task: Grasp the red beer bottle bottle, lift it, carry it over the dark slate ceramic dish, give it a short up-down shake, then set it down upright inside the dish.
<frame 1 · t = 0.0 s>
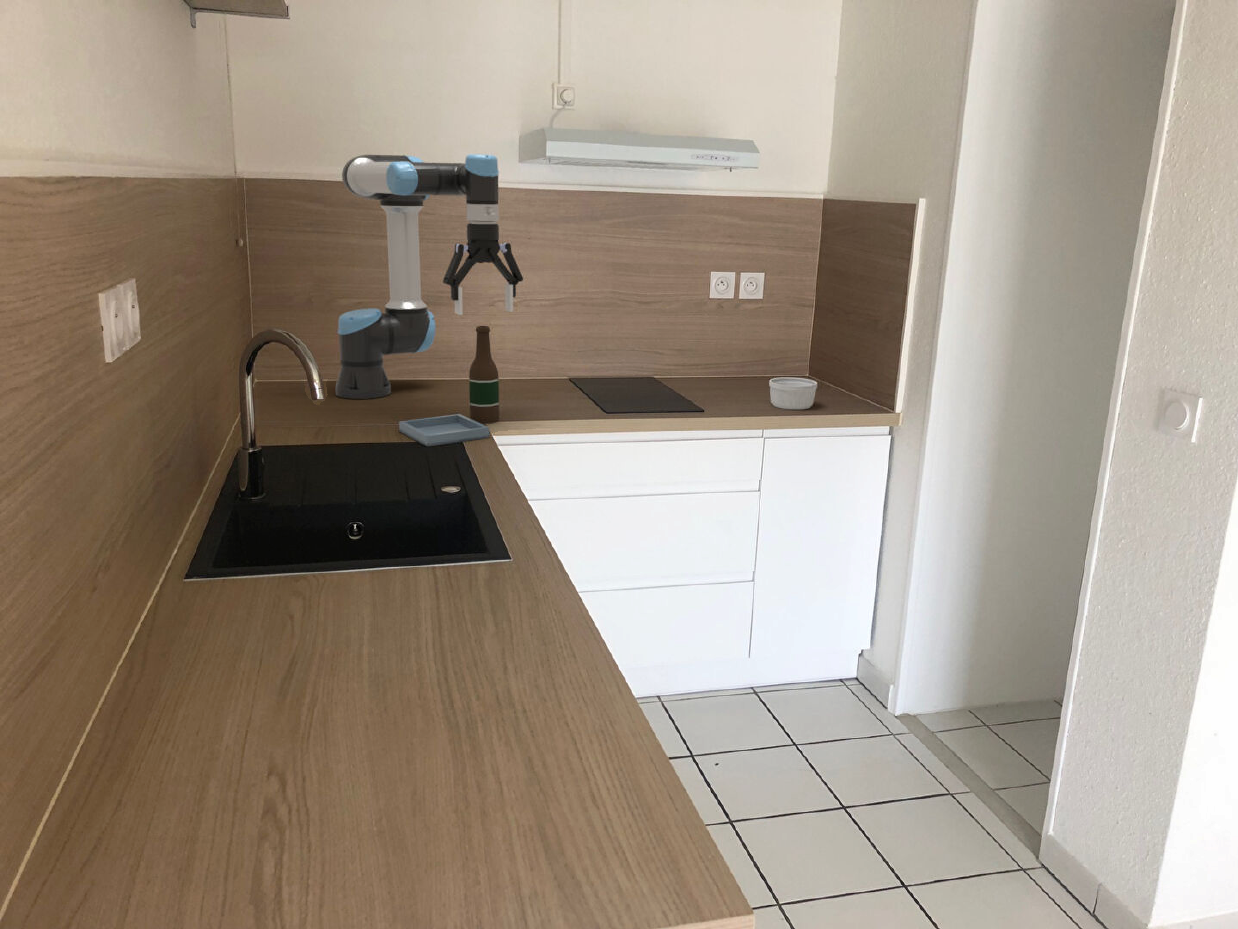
hand: (484, 312, 237), 28 cm above the counter, fingers open, 13 cm apart
dish: (444, 434, 235), on the counter
ramekin: (791, 406, 274), on the counter
beer bottle: (484, 421, 250), on the counter
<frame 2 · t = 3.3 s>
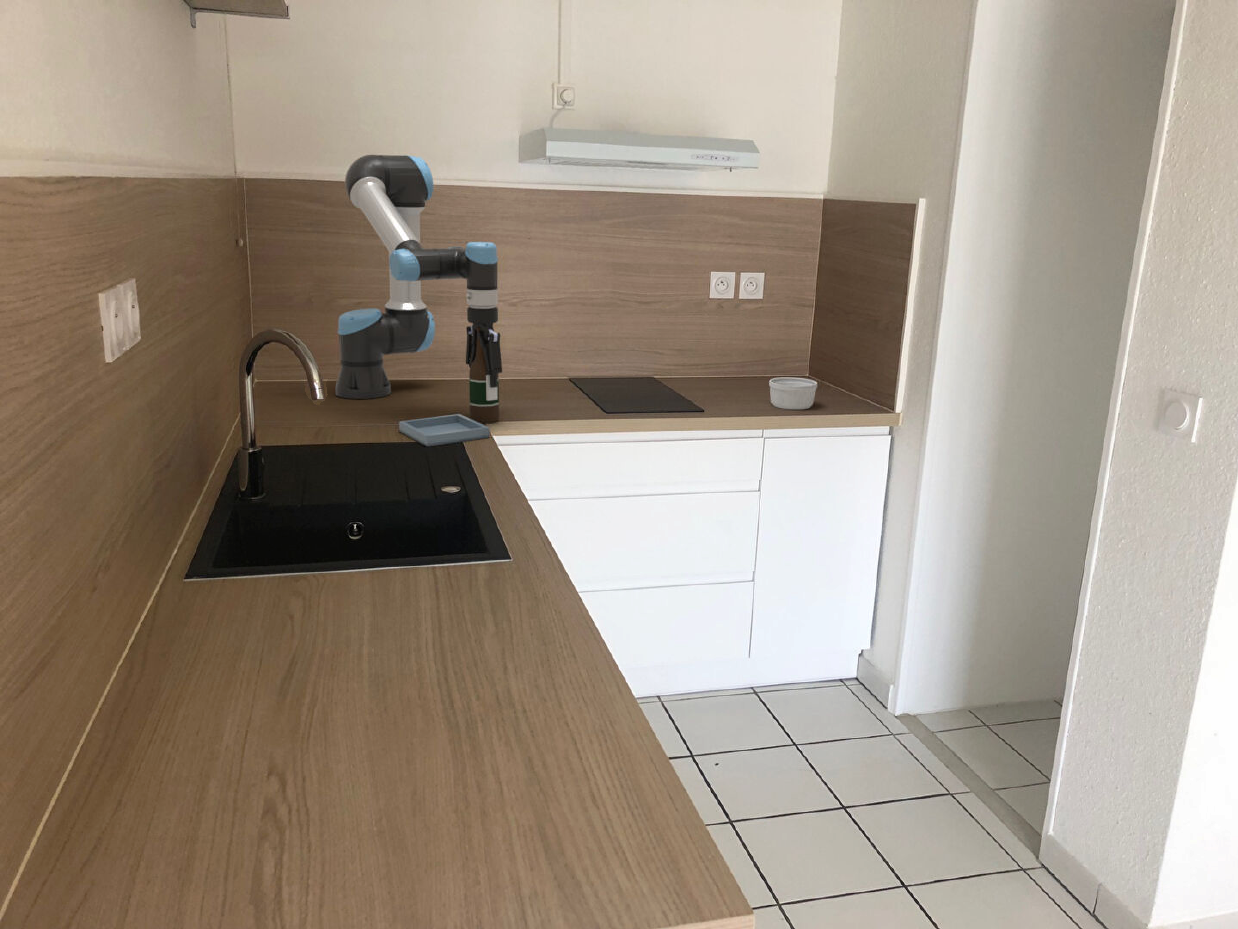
hand: (484, 396, 248), 6 cm above the counter, fingers closed on beer bottle, 8 cm apart
beer bottle: (484, 421, 250), on the counter, touching gripper
everything else where it was.
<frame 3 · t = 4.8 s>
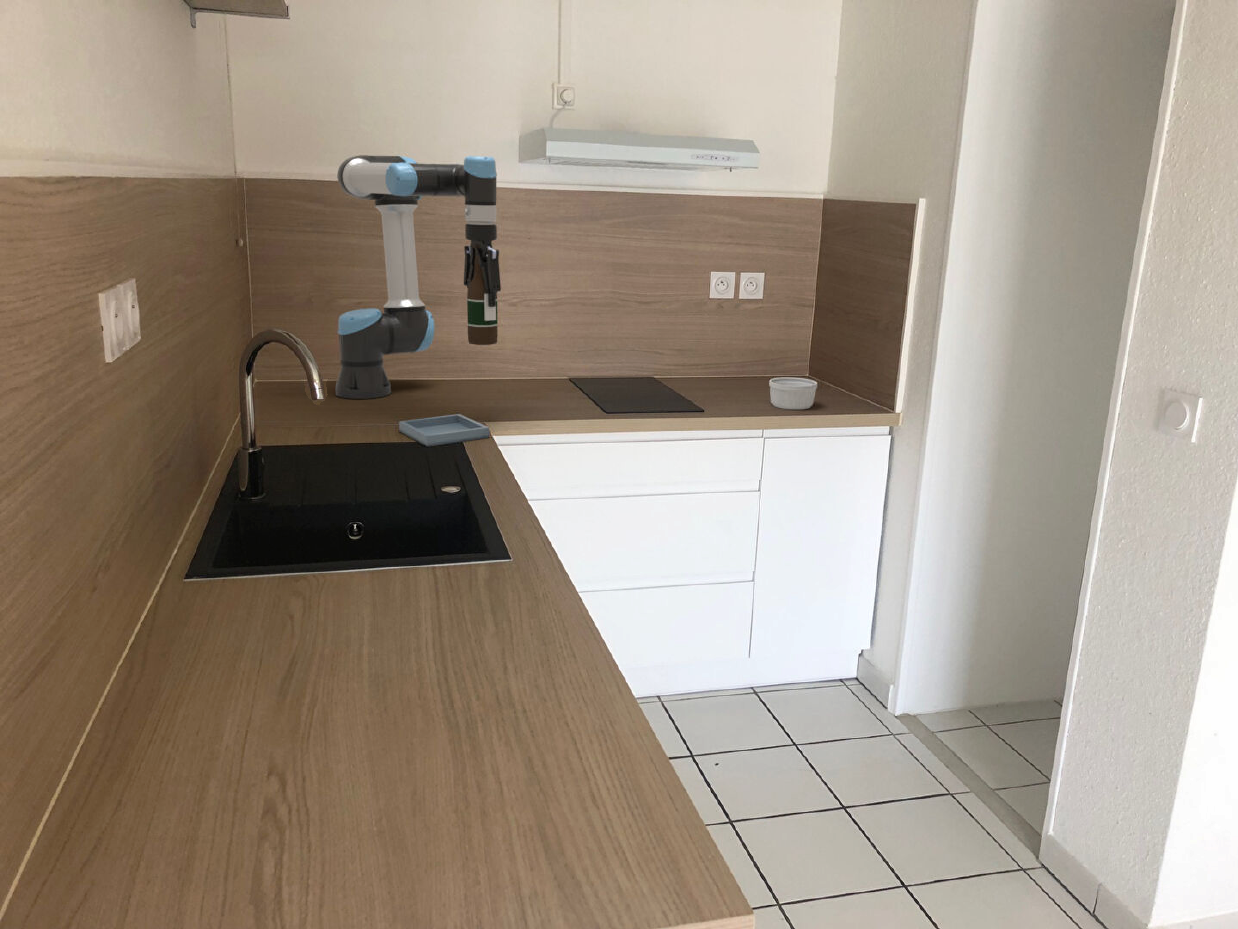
hand: (482, 317, 242), 26 cm above the counter, fingers closed on beer bottle, 8 cm apart
beer bottle: (482, 343, 244), point 20 cm above the counter, touching gripper
everything else where it was.
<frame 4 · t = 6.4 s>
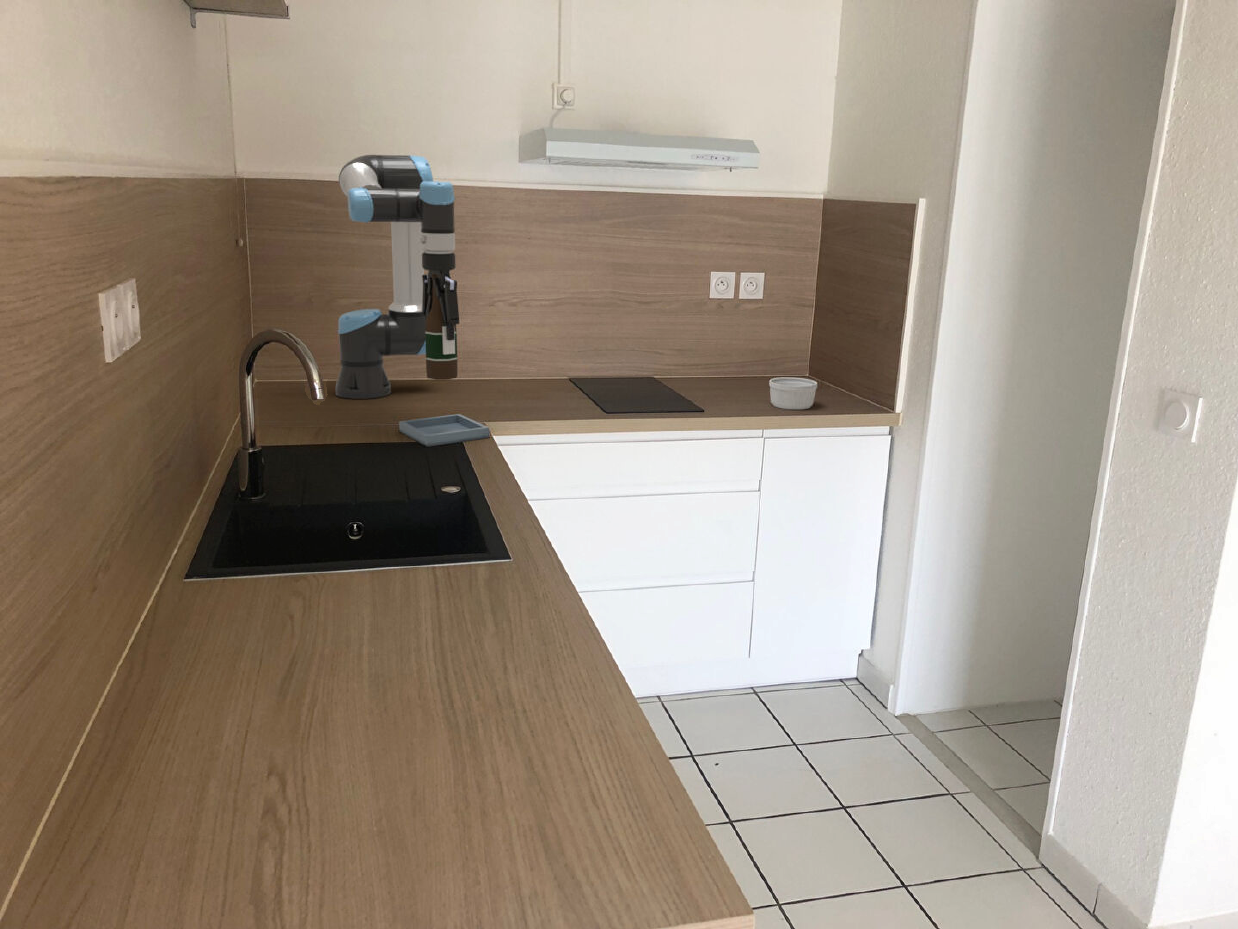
hand: (441, 350, 230), 20 cm above the counter, fingers closed on beer bottle, 8 cm apart
beer bottle: (442, 377, 231), point 14 cm above the counter, touching gripper
everything else where it was.
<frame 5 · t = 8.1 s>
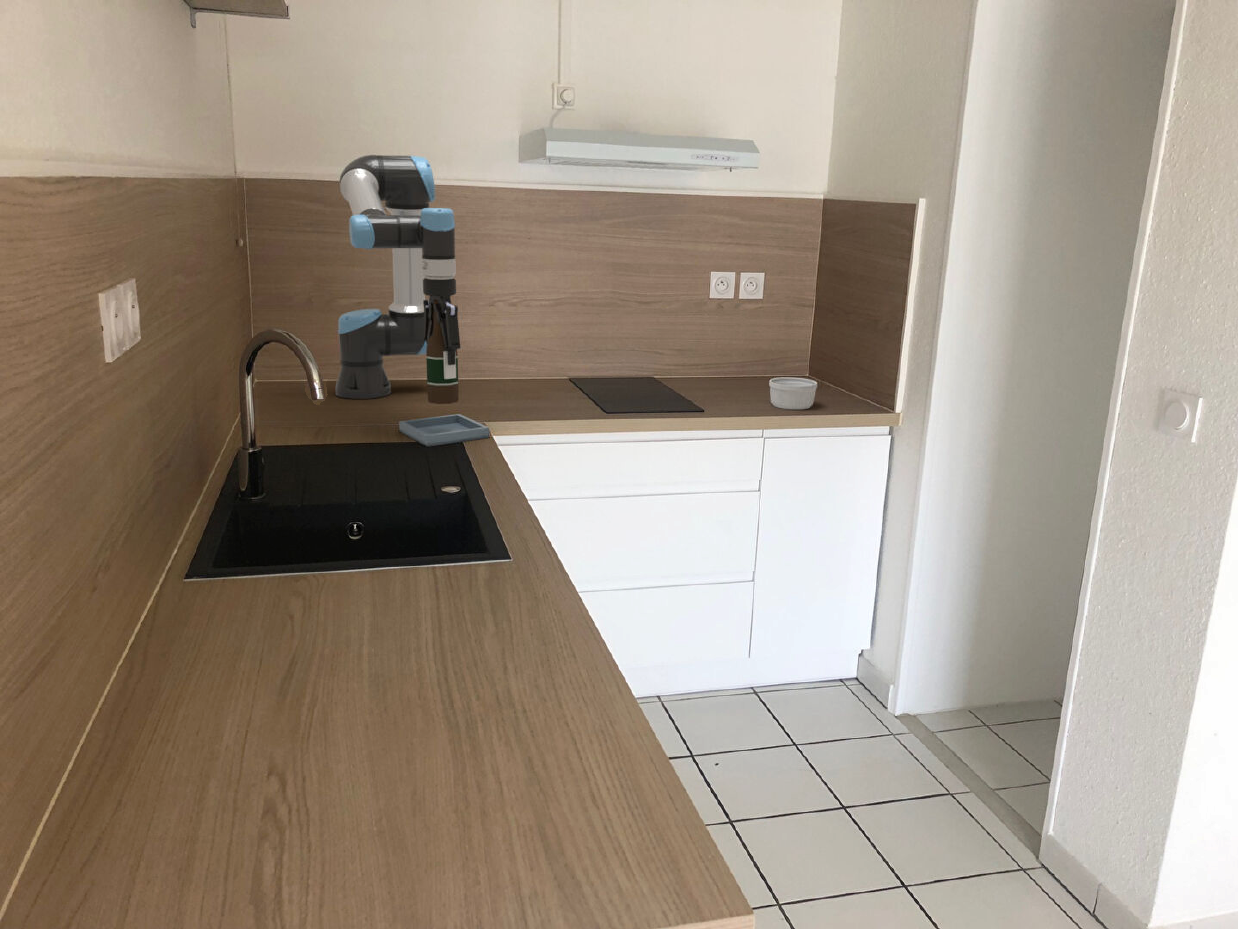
hand: (442, 375, 231), 15 cm above the counter, fingers closed on beer bottle, 8 cm apart
beer bottle: (443, 401, 233), point 8 cm above the counter, touching gripper
everything else where it was.
when the fingers open (8 cm above the counter, at t = 9.6 s): beer bottle drops 1 cm, resting on dish.
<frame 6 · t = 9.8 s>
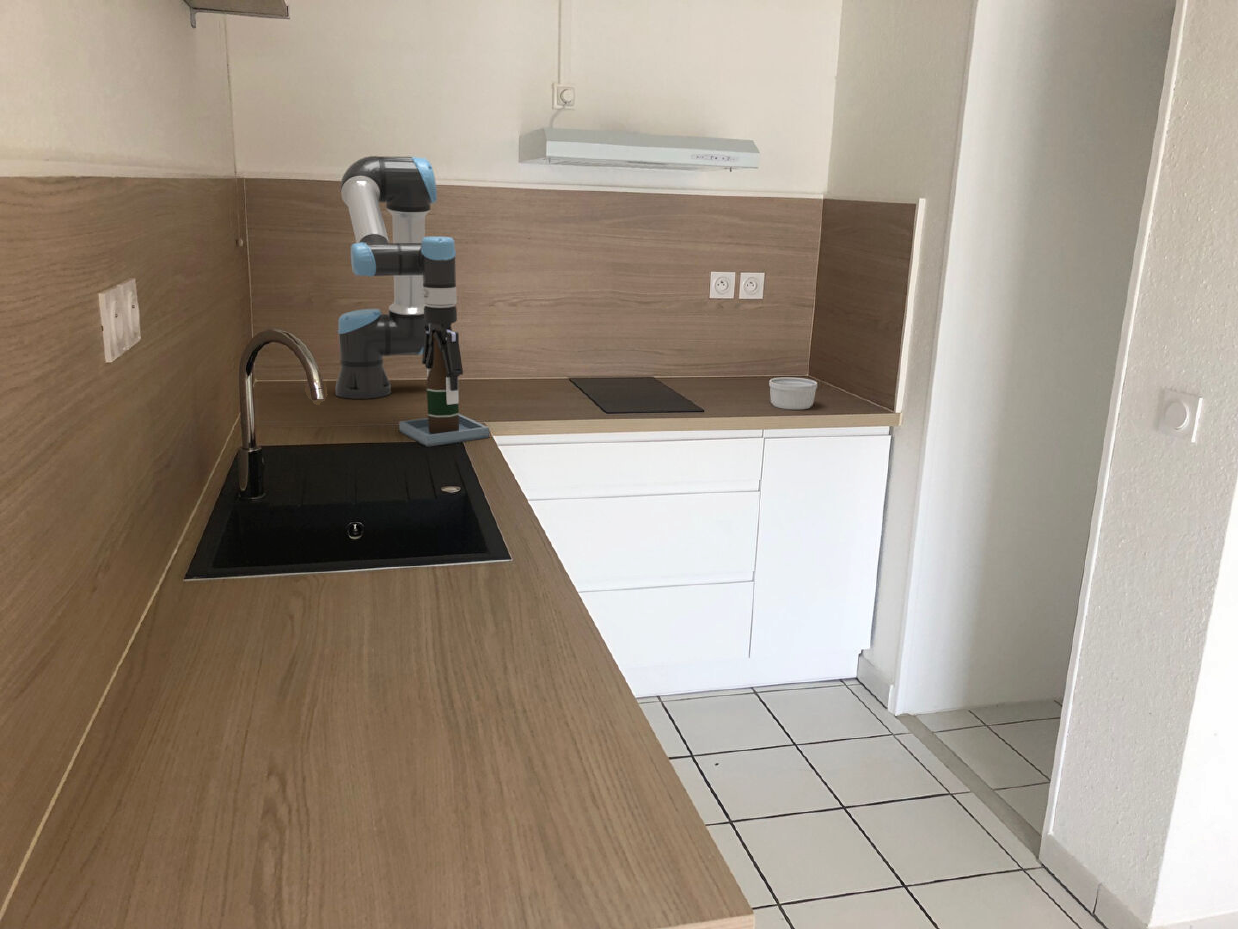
hand: (443, 399, 232), 9 cm above the counter, fingers open, 10 cm apart
beer bottle: (444, 432, 235), resting on dish
everything else where it was.
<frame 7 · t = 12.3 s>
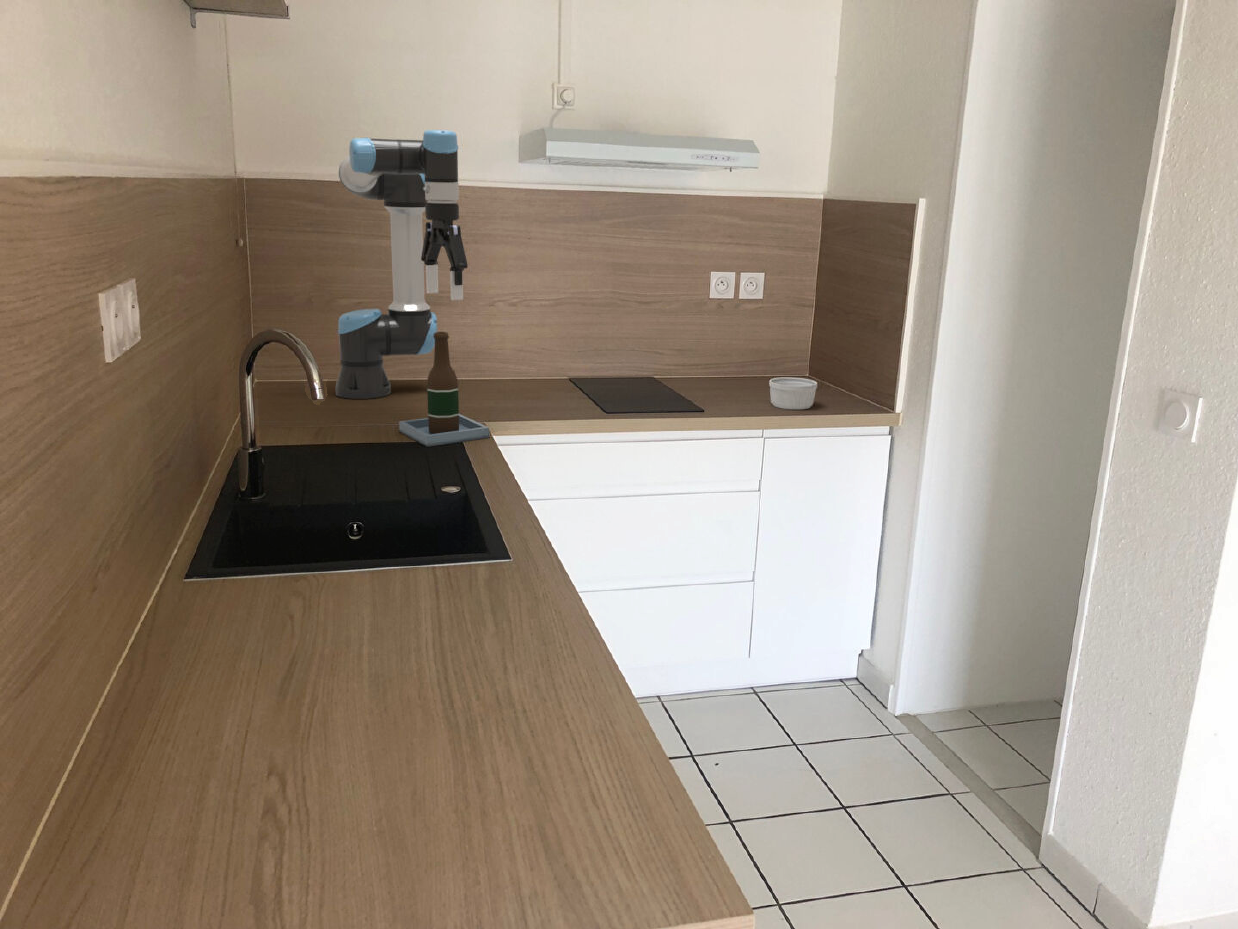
hand: (444, 296, 228), 33 cm above the counter, fingers open, 13 cm apart
nothing on the counter moved.
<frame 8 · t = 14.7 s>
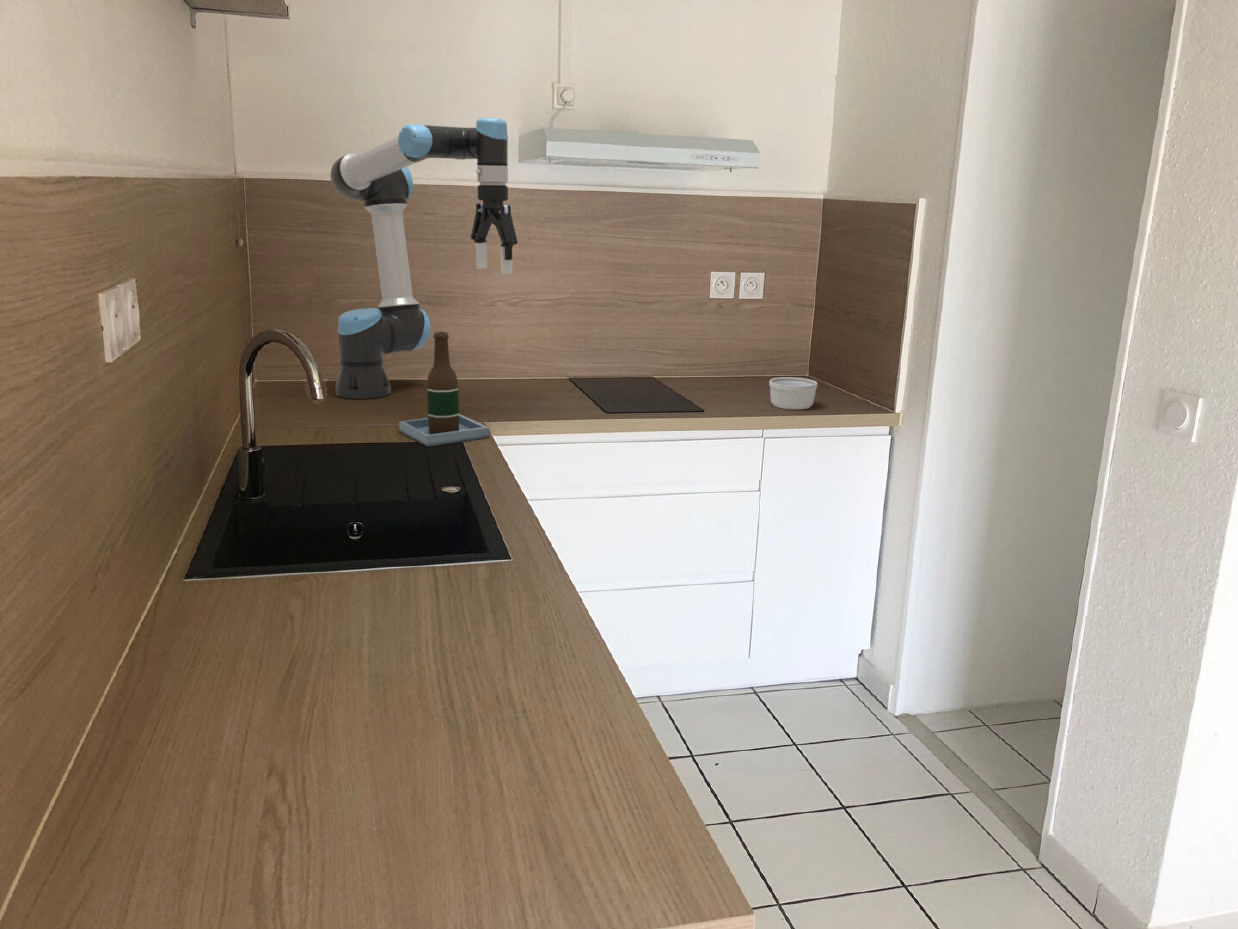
hand: (494, 271, 249), 37 cm above the counter, fingers open, 13 cm apart
nothing on the counter moved.
at the end: beer bottle inside the target area on the dish (0.1 cm from its centre), point 0.4 cm above the dish's base; beer bottle tilted 0°; the gripper is holding nothing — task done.
